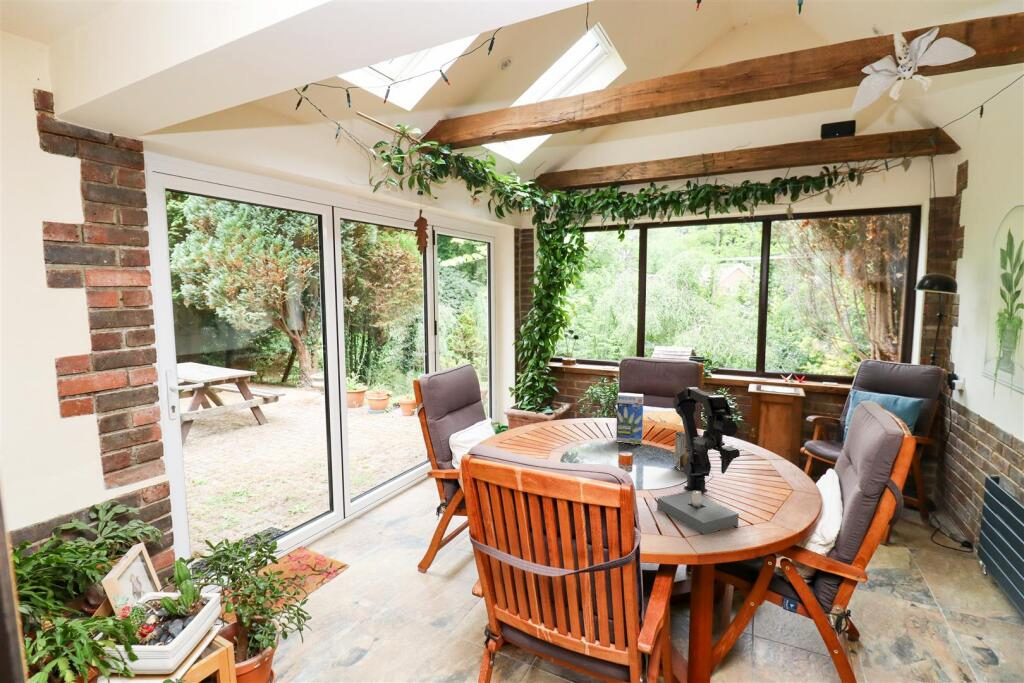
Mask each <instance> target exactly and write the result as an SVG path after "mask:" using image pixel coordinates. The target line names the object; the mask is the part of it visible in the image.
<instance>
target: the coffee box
mask: <svg viewBox="0 0 1024 683" xmlns="http://www.w3.org/2000/svg"><path fill="white" fill-rule="evenodd" d="M698 436H699V437H701V436H700V434H698ZM674 443H675V445H674V447H675V450H674V460H675V461H674V466H675V465H676V466H677V467H678V468H679V469H680V470H683V467H684V466H685V465H686V464H687V457H688V454H689V449H688V444H687V440H686V435H685V431H675V442H674Z"/></svg>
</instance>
